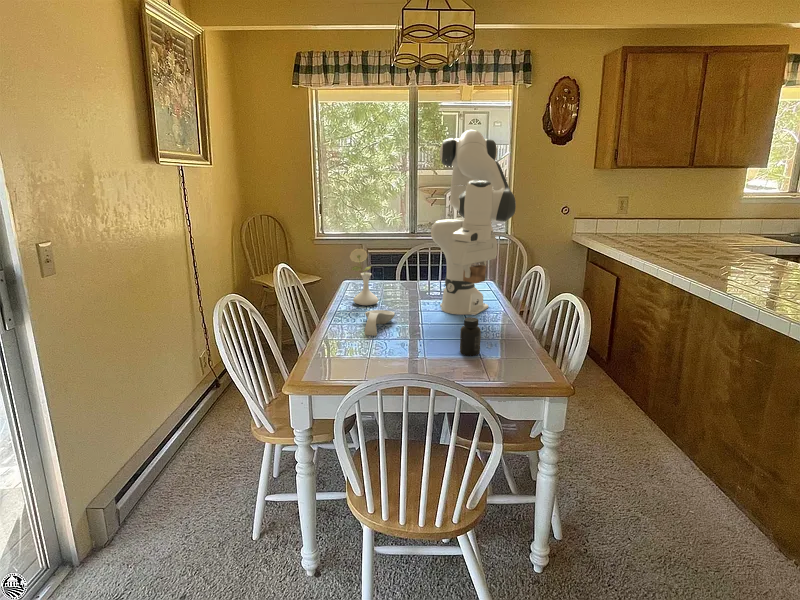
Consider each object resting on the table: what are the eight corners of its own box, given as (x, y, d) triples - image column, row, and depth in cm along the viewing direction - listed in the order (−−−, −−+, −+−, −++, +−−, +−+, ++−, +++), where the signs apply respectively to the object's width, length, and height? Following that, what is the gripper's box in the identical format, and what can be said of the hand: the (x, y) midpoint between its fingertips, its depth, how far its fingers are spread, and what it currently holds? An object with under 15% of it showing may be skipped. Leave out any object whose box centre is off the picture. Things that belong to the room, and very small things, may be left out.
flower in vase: (380, 301, 231) (380, 246, 224) (376, 308, 220) (377, 251, 213) (352, 299, 232) (351, 245, 226) (347, 306, 221) (346, 250, 215)
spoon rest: (368, 316, 208) (368, 300, 206) (396, 318, 207) (397, 301, 205) (355, 335, 185) (355, 316, 184) (387, 337, 184) (387, 319, 182)
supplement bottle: (476, 349, 174) (478, 315, 170) (482, 356, 167) (485, 322, 164) (456, 350, 172) (458, 316, 169) (462, 357, 166) (464, 322, 163)
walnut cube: (472, 278, 167) (473, 263, 165) (484, 281, 163) (485, 265, 162) (463, 280, 163) (463, 265, 162) (475, 283, 160) (476, 267, 159)
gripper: (487, 229, 169) (484, 269, 172) (449, 234, 154) (447, 278, 158) (503, 231, 164) (500, 272, 168) (465, 237, 150) (463, 282, 154)
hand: (474, 275), depth 163 cm, fingers closed on walnut cube, 5 cm apart
